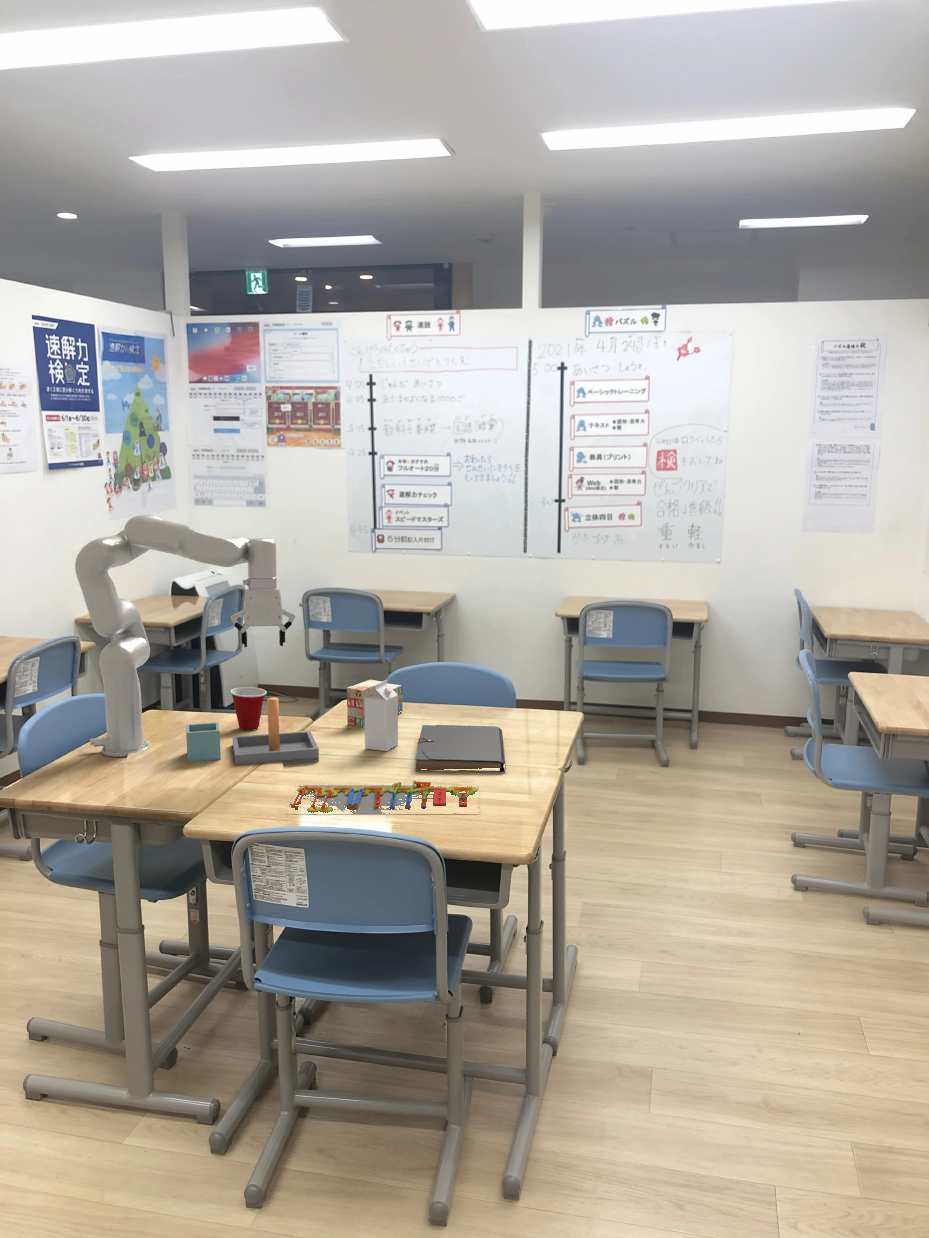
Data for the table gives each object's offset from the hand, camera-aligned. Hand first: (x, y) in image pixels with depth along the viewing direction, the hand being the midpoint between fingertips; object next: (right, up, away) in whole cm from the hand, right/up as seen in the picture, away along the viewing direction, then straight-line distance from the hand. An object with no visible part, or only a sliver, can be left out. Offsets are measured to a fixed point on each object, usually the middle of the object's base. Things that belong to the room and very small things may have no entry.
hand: (263, 645), depth 253 cm
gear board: (+36, -37, -31) cm, 60 cm away
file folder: (+54, -31, +7) cm, 63 cm away
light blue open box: (-16, -31, -1) cm, 35 cm away
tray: (+2, -30, +3) cm, 31 cm away
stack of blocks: (+27, -25, +41) cm, 55 cm away
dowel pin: (+2, -29, +3) cm, 30 cm away
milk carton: (+32, -30, +11) cm, 45 cm away
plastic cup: (-11, -26, +30) cm, 41 cm away
